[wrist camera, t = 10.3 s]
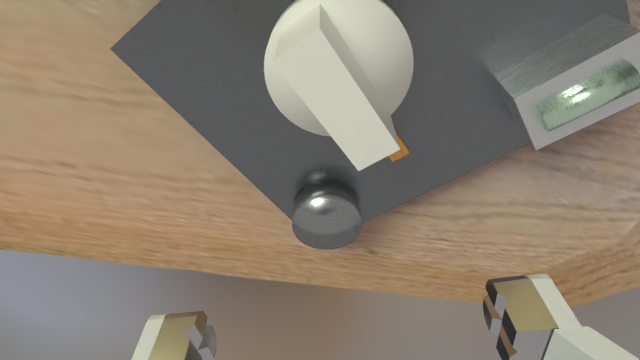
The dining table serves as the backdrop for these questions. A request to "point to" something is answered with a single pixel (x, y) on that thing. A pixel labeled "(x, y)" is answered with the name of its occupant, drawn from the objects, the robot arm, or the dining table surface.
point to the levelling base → (414, 111)
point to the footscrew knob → (341, 73)
